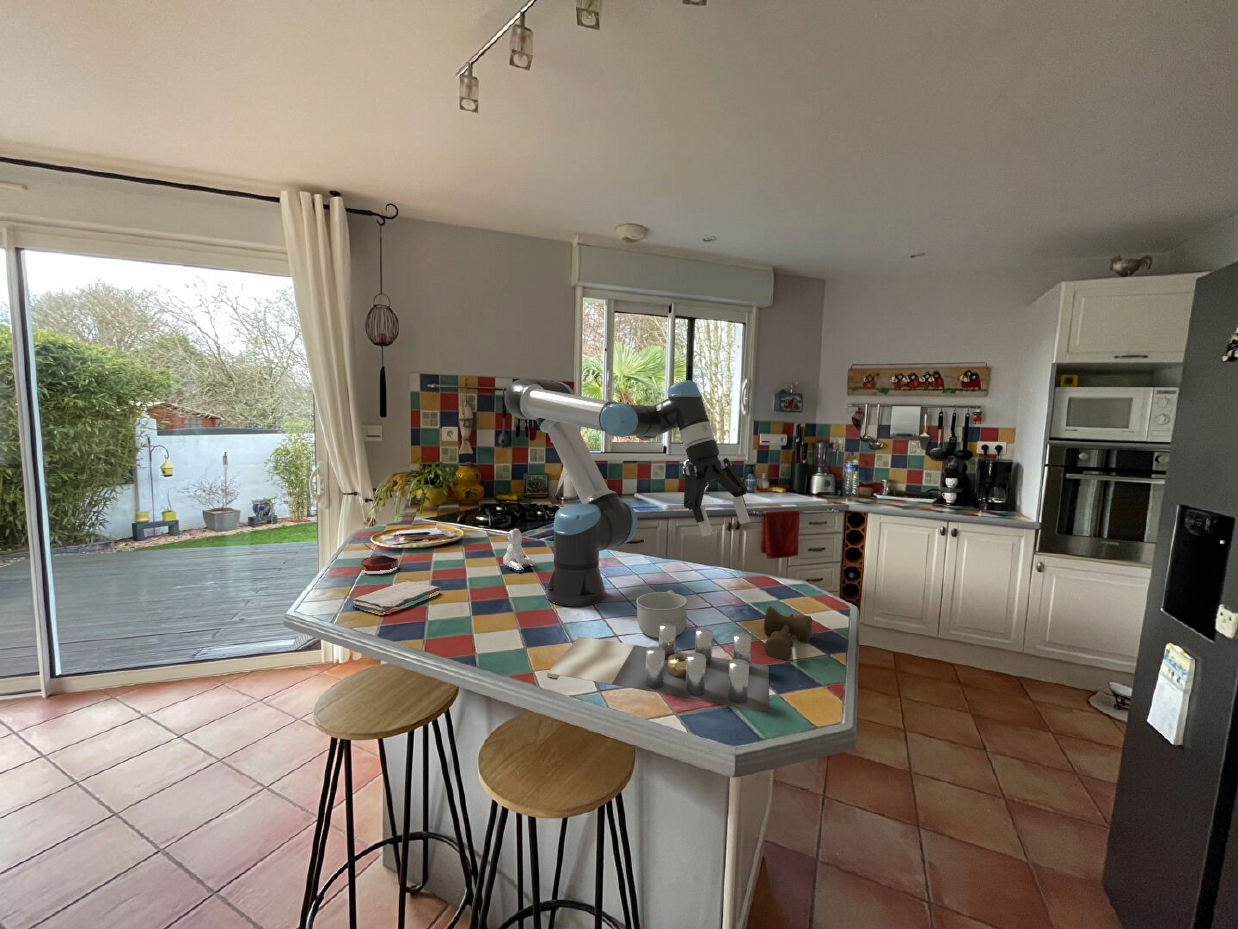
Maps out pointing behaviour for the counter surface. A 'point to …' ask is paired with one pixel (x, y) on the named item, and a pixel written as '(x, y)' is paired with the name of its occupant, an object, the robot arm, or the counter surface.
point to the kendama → (784, 633)
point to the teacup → (661, 612)
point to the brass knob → (677, 665)
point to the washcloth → (394, 596)
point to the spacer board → (629, 670)
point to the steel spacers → (700, 662)
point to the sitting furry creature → (515, 551)
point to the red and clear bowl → (379, 562)
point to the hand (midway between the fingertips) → (727, 529)
